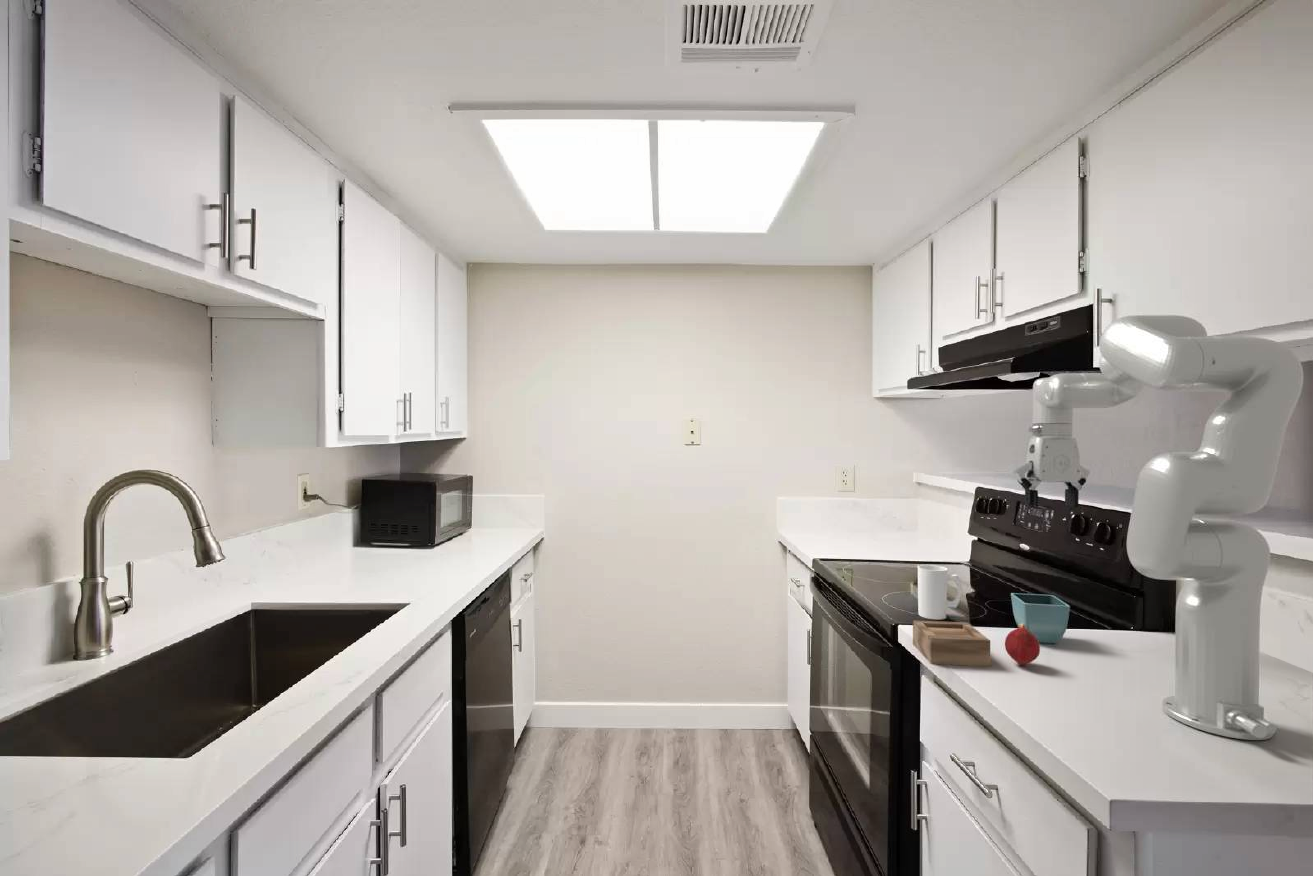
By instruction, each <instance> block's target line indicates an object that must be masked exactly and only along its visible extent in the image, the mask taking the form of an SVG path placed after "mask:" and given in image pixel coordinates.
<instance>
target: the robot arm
mask: <svg viewBox="0 0 1313 876" xmlns="http://www.w3.org/2000/svg"><path fill="white" fill-rule="evenodd" d="M1098 348H1099V351H1100V354H1101V355H1100V357H1099V360H1098V361H1099V363H1098V365H1099V370H1100V372H1101V373H1100V372H1081V373H1080V372H1077V373H1076V372H1074V373H1070V372H1068V373H1067V372H1066V373H1057V374H1053V375H1051V376H1049V377H1042V378H1038V379H1036V380H1035V381H1034V382H1033V385H1032V426H1029V428H1028V432H1029V433H1030V434H1031V433H1032V437H1031V438H1029V442H1028V446H1027V453H1026V454H1027V455H1026V464H1023V465H1022V466H1020V467H1018V468H1017V469H1014V472H1013V473H1014V475H1015V477H1016V480H1017V482H1018V483H1019V485H1021V488H1022V489H1023V490H1024V504H1025V507H1027V508H1031V509H1038V507H1039V491H1038V489H1037V488H1038V486H1039V485H1040V484H1041V482H1044V483H1063V484H1064V485H1065V486H1066V488H1065V490H1064V505H1065V506H1066V507H1068V508H1074V509H1078V508H1079V501H1080V500H1079V495H1080V494H1079V493H1080V492H1079V491H1081V490H1082V487H1083V486H1084V485H1085V484H1086V482H1087V479H1088V477H1089V474H1090V470H1089V469H1087V468H1085V467H1083V466H1082V465H1081V461H1080V456H1081V455H1080V451H1079V445H1078V441H1077V439H1076V438H1073V419H1074V417H1073V414H1074V413H1073V411H1074V410H1073V409H1108V408H1114V407H1116V406H1119V405H1121V404H1124V403H1127V402H1128V401H1131V400H1133V399H1135V398H1137V397H1138V396H1139V395H1140V394H1141V393H1142V391H1143V390H1144V388H1145V385H1146V386H1148V387H1150V388H1153V389H1155V390H1159V391H1163V392H1171V393H1173V392H1174V393H1178V392H1182V393H1183V392H1184V393H1185V392H1188V393H1189V392H1190V393H1192V392H1193V393H1194V392H1195V393H1196V392H1197V393H1200V392H1204V393H1206V392H1225V393H1228V394H1229V396H1228V397H1227V398H1226V399H1225V400H1223V401H1222V402H1221V403H1220V404H1219V405H1218V406H1217V407H1216V408H1215V409H1214V411H1213V412H1212V413H1211V414H1210V416H1209V417H1208V419H1207V421H1206V423H1205V425H1204V426H1205V427H1204V429H1203V430H1204V431H1203V436H1202V440H1201V444H1200V447H1199V448H1198V450H1196V451H1171V452H1165V453H1161V454H1158V455H1156V456H1154V457H1152V458H1151V459H1149V461H1147V463H1146V464H1145V465H1144V466H1143V468H1142V469H1141V471H1140V473H1139V474H1138V478H1137V480H1136V486H1135V491H1134V495H1133V502H1132V506H1131V512H1130V518H1129V519H1130V520H1129V524H1128V529H1127V535H1126V536H1127V537H1126V552H1127V556H1128V559H1129V562H1130V564H1131V565H1132V567H1133V568H1134V569H1135V570H1136V571H1137V572H1138V573H1140V574H1141V575H1142V576H1145V577H1147V578H1150V579H1154V580H1165V581H1185V583H1184V585H1183V586H1182V587H1181V589H1180V590H1179V591H1180V592H1178V593H1179V594H1178V596H1177V598H1176V605H1175V641H1174V642H1175V644H1174V646H1175V648H1174V650H1175V651H1174V652H1175V655H1174V659H1175V661H1174V663H1175V664H1174V665H1175V667H1174V695H1172V696H1167V697H1165V698H1163V699H1162V701H1161V702H1162V705H1161V707H1162V710H1163V711H1164V713H1166V714H1167V715H1168V716H1169V717H1170V718H1172V719H1174V720H1176V721H1178V722H1180V723H1182V724H1184V725H1187V726H1190V727H1192V728H1194V729H1196V730H1201V731H1202V732H1203V731H1204V732H1207V733H1210V734H1214V735H1217V736H1221V737H1225V738H1231V739H1238V740H1246V741H1264V740H1268V739H1270V738H1273V736H1274V734H1275V733H1276V732H1277V729H1278V727H1277V725H1276V724H1274V723H1272V722H1271V721H1269V720H1267V719H1265V718H1264V717H1265V716H1264V714H1265V713H1264V711H1265V710H1264V709H1265V708H1264V706H1262V705H1260V632H1261V630H1260V628H1261V627H1260V626H1261V602H1262V595H1263V590H1264V589H1263V588H1264V584H1265V580H1266V578H1267V574H1268V571H1269V567H1270V563H1271V549H1270V546H1269V543H1268V542H1267V539H1266V538H1265V536H1264V535H1263V534H1262V533H1261V532H1259V530H1257V529H1256V528H1255V527H1252V526H1250V525H1249V524H1246V523H1243V522H1240V521H1237V520H1236V521H1235V520H1233V519H1232V520H1231V519H1223V518H1221V519H1220V518H1193V516H1194V515H1244V514H1245V515H1246V514H1251V513H1256V512H1259V510H1261V509H1263V508H1264V507H1265V505H1266V504H1267V503H1268V500H1269V499H1270V496H1271V493H1272V489H1273V487H1274V486H1273V485H1274V482H1275V477H1276V473H1277V469H1278V465H1279V460H1280V456H1281V452H1282V448H1283V443H1284V437H1285V435H1286V430H1287V427H1288V424H1289V421H1290V419H1291V417H1292V415H1293V412H1294V410H1295V408H1296V406H1297V404H1298V401H1299V399H1300V396H1301V393H1302V391H1303V390H1302V389H1303V386H1304V385H1303V384H1304V370H1303V369H1304V368H1303V366H1302V363H1301V361H1300V359H1299V357H1298V356H1297V355H1296V353H1294V351H1293V350H1291V348H1290V347H1288V346H1286V345H1285V344H1283V343H1281V342H1278V341H1276V340H1272V339H1267V338H1261V337H1255V336H1254V337H1253V336H1242V335H1241V336H1239V335H1237V336H1235V335H1233V336H1232V335H1231V336H1229V335H1228V336H1226V335H1222V336H1221V335H1220V336H1208V333H1207V329H1206V328H1205V326H1204V325H1203V324H1201V322H1199V321H1198V320H1196V319H1194V318H1191V317H1190V316H1189V317H1188V316H1184V315H1177V314H1176V315H1175V314H1167V315H1166V314H1162V315H1161V314H1160V315H1157V314H1156V315H1153V314H1151V315H1150V314H1149V315H1148V314H1147V315H1144V314H1143V315H1127V316H1122V317H1120V318H1117V319H1115V320H1113V321H1112V322H1110V324H1108V325H1107V327H1105V329H1104V331H1103V332H1102V333H1101V335H1100V338H1099V347H1098ZM1025 474H1026V475H1025Z"/></svg>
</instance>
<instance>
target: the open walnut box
mask: <svg viewBox="0 0 1313 876" xmlns="http://www.w3.org/2000/svg"><path fill="white" fill-rule="evenodd" d="M912 645H913V646H914V647H915V648H916V649H917V650H918V651H919V652H920V654H921V655H922V656H923V657H924V658H925V659H926V661H927V662H928V663H930V664H936V665H937V664H938V665H952V666H953V665H954V666H955V665H956V666H959V665H960V666H972V667H974V666H977V667H991V640H990V639H989V638H988V637H986V636H985V635H983V634H982V633H981V631H978V630H977V629H976V628H975V627H973V626H972V625H971V624H969V623H968V622H961V621H959V622H958V621H957V622H955V621H939V620H912Z"/></svg>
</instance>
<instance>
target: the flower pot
mask: <svg viewBox="0 0 1313 876" xmlns="http://www.w3.org/2000/svg"><path fill="white" fill-rule="evenodd" d="M1010 599H1011V605H1012V613H1013V616H1014V620H1015V623H1016V625H1017V628H1018V627H1019V624H1021V623H1022V624H1024V625H1025V628H1026V629H1027V630H1028V631H1030V632H1031V633H1032V634H1033V635H1034V636H1035V637H1036V638H1037V640H1038V642H1039V643H1041V644H1043V643H1044V644H1052V643H1054V644H1058V643H1059V642H1060V640H1061V639H1062V638H1063V636H1064V635H1065V632H1066V630H1067V628H1068V621H1069V617H1070V609H1071V606H1070V605H1069V604H1067V603H1066V602H1065V601H1063V600H1061V599H1060V598H1058V597H1056V596H1055V595H1052V594H1051V595H1050V594H1037V593H1036V594H1035V593H1017V592H1016V593H1015V592H1011V593H1010Z"/></svg>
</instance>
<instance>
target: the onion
mask: <svg viewBox="0 0 1313 876" xmlns="http://www.w3.org/2000/svg"><path fill="white" fill-rule="evenodd" d="M1004 647H1005V651H1006V652H1007V655H1009V657H1010V658H1011V659H1012V660H1013V661H1015V662H1016V663H1017V665H1018V664H1019V665H1020V666H1026V665H1028V664H1030V663H1032V662H1034V661H1035V660H1036V659H1037V658H1038V657H1039V656H1040V652H1041V647H1040V642H1038V640H1037V638H1036V637H1035V636H1034V635H1033V634H1032V633H1031V632H1030V631H1028V630H1027V629H1026V628H1025V625H1024V624H1022V623H1021V624H1019V627H1018V626H1017V628H1015V629H1013V630H1010V632H1009V633H1008V634H1007V635H1006V637H1005V641H1004Z"/></svg>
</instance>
